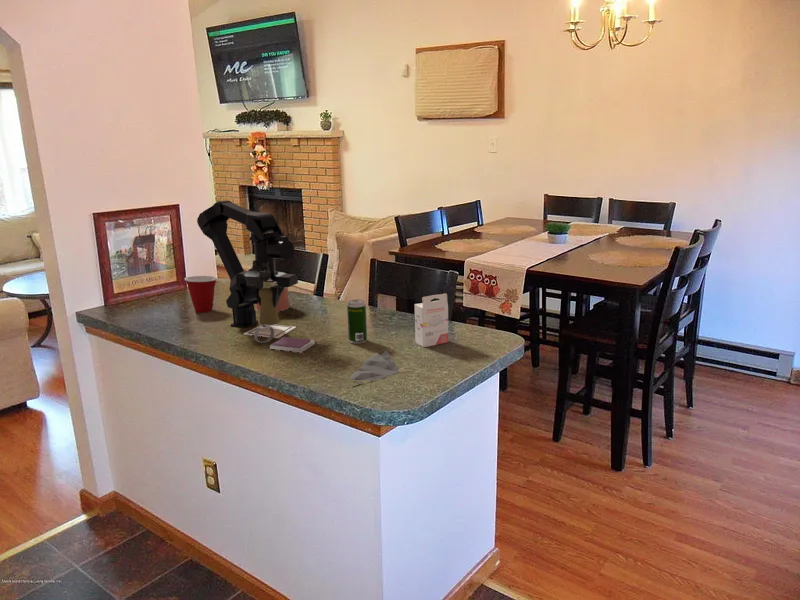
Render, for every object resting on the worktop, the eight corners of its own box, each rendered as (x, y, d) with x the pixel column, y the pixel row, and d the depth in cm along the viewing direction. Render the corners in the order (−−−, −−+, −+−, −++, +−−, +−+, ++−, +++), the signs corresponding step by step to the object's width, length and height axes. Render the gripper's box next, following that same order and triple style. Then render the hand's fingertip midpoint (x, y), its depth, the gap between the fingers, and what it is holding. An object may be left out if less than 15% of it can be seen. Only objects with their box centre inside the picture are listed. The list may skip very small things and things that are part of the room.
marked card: (243, 334, 191) (243, 333, 191) (263, 324, 201) (263, 323, 201) (278, 338, 187) (278, 337, 187) (296, 327, 197) (296, 326, 197)
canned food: (273, 302, 227) (271, 270, 224) (295, 307, 220) (293, 274, 217) (249, 310, 218) (246, 276, 215) (272, 314, 211) (269, 280, 208)
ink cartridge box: (439, 338, 184) (439, 289, 181) (448, 342, 180) (448, 293, 176) (414, 342, 181) (413, 293, 177) (422, 347, 176) (422, 297, 173)
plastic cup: (227, 308, 220) (223, 275, 217) (202, 316, 211) (199, 281, 208) (205, 304, 226) (202, 272, 222) (181, 312, 217) (177, 278, 214)
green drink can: (369, 342, 182) (368, 302, 179) (352, 345, 179) (351, 304, 176) (362, 337, 186) (361, 298, 183) (345, 340, 184) (344, 300, 181)
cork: (275, 325, 190) (272, 290, 187) (256, 324, 191) (253, 289, 188) (282, 319, 196) (280, 285, 193) (264, 319, 197) (261, 285, 194)
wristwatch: (258, 346, 180) (257, 329, 179) (253, 344, 182) (251, 327, 181) (276, 340, 185) (275, 324, 183) (270, 339, 186) (269, 322, 185)
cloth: (370, 394, 147) (370, 385, 146) (323, 384, 154) (322, 375, 153) (422, 359, 169) (421, 352, 168) (378, 352, 175) (378, 344, 175)
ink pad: (270, 349, 177) (269, 344, 177) (284, 340, 185) (284, 335, 184) (301, 352, 174) (301, 347, 174) (314, 343, 181) (314, 339, 181)
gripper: (222, 259, 184) (226, 310, 188) (278, 263, 177) (281, 316, 181) (243, 252, 194) (247, 301, 198) (297, 255, 187) (300, 306, 192)
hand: (268, 306), depth 192 cm, fingers closed on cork, 5 cm apart
